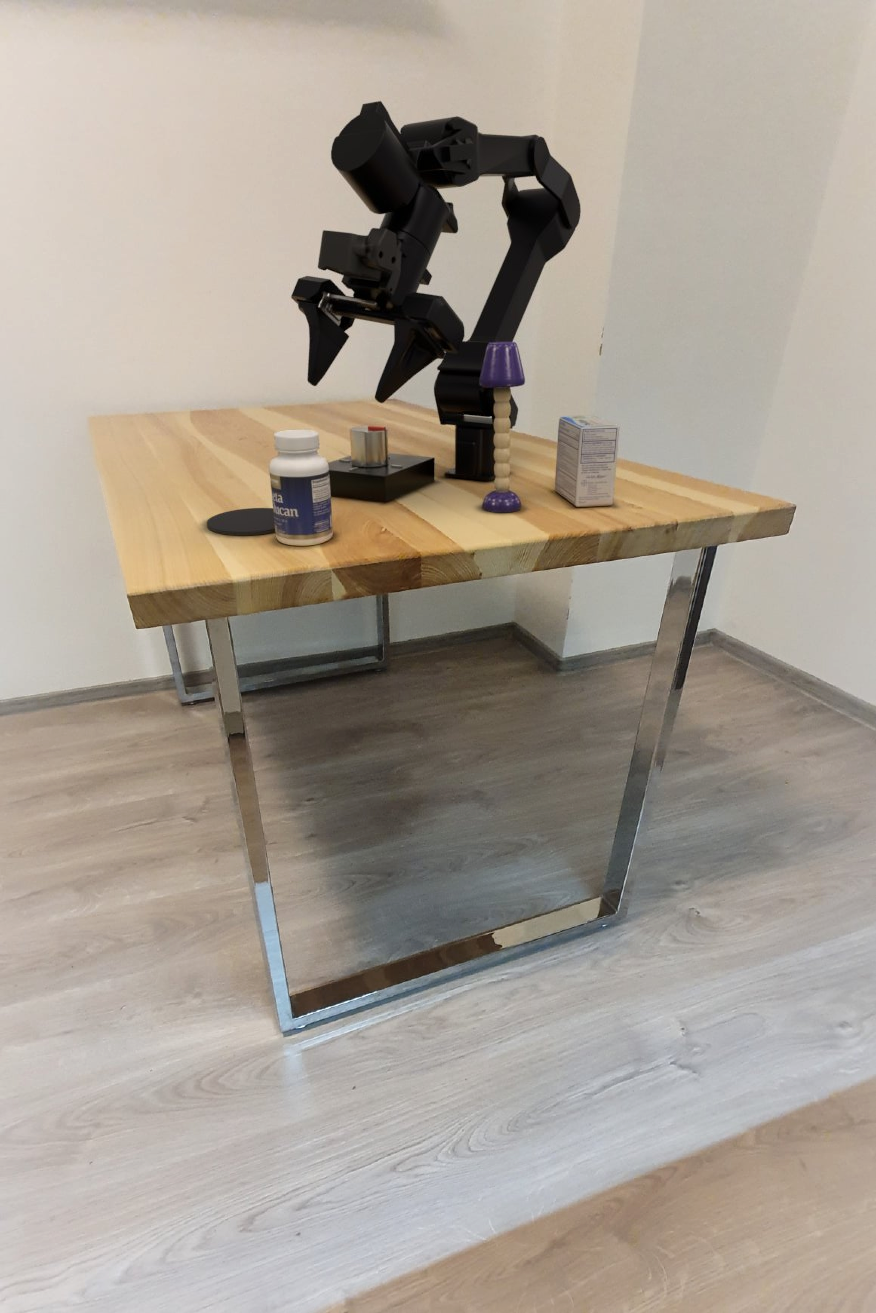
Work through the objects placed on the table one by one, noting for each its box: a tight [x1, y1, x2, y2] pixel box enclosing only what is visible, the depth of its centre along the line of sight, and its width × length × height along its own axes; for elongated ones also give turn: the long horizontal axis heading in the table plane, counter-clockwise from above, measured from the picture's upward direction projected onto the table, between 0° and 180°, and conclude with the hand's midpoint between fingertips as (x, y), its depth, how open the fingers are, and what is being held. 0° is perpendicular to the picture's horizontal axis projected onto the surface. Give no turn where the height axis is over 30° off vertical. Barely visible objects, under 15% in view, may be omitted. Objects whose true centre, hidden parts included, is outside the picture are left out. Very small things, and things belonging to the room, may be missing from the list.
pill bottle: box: [268, 429, 334, 547], centre depth 67 cm, size 5×5×10 cm
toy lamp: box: [479, 341, 526, 513], centre depth 76 cm, size 5×5×17 cm
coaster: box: [206, 507, 276, 537], centre depth 74 cm, size 9×9×1 cm
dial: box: [349, 425, 389, 467], centre depth 85 cm, size 4×4×4 cm
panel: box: [328, 452, 436, 504], centre depth 87 cm, size 12×10×3 cm
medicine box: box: [554, 414, 620, 508], centre depth 81 cm, size 8×4×9 cm, turn 9°
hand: (343, 392), depth 73 cm, fingers open, 9 cm apart
